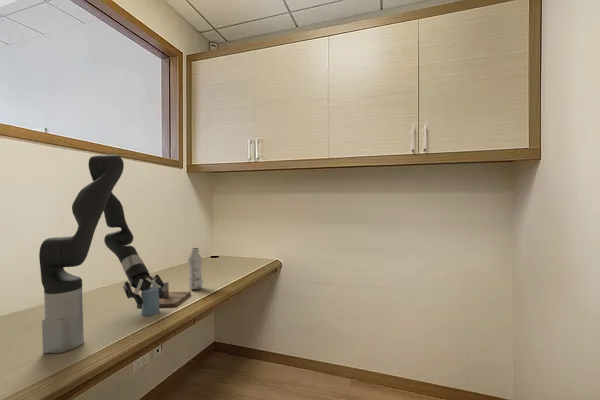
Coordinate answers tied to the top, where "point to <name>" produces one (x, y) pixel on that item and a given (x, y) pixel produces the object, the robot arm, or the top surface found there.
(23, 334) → the top surface
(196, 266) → the plastic bottle
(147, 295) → the blue-grey rounded cylinder
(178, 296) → the post dock
